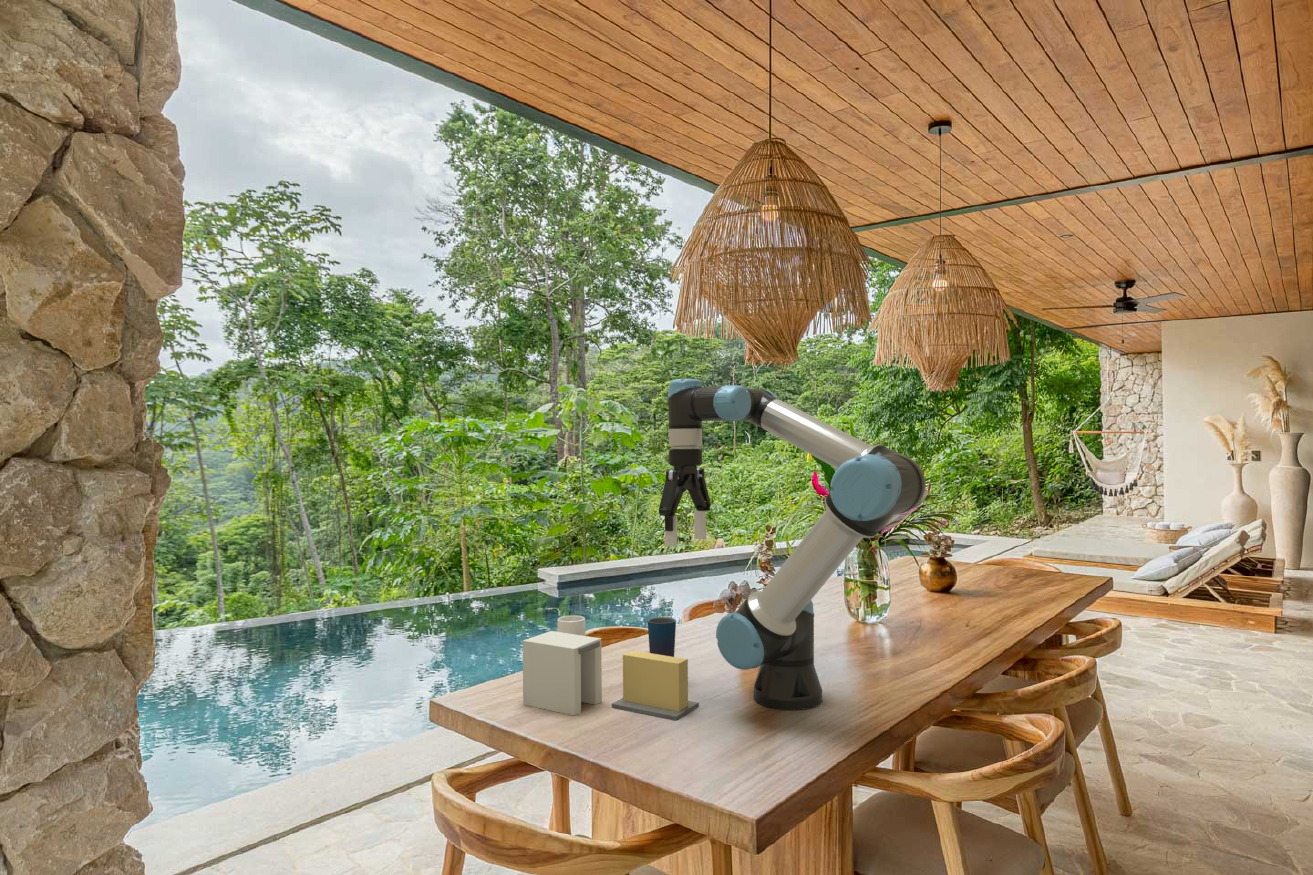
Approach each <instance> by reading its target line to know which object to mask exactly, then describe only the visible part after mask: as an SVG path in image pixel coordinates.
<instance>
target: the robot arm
mask: <svg viewBox="0 0 1313 875" xmlns="http://www.w3.org/2000/svg"><path fill="white" fill-rule="evenodd" d="M667 404H668V406H667V407H668V434H667V436H668V446H669V447H671V448H670V449H669V450H668V465H669V466H671V467H673V470H672V469H670V470H669V469H666V471H665V481H664V486H663V490H662V495H661V498H660V501H659V507H658V514H659V515H660V516H661V517H664V546H665V547H678V516H677V515H676V514H677V510H678V508H679V505H680V502H681V500H682V497H683V494H684V493H685V492H686V491H688V494H689V496H690V498H691V501H692V503H693V505H694V507H695V509H696V510H693V539H694V540H707V511H708V512H710V510H711V506H712V505H711V499H710V493H709V492H708V491H709V490H708V487H707V483H706V477H705V468H698V467H697V466H701V465H703V450H702V448H701V447H702V446H703V429H702V428H703V422H707V421H708V422H711V421H712V422H715V421H717V422H723V421H724V422H749V423H750V424H753V425H755V426H757V427H759V428H761V429H763V430H765V431H767V432H768V433H770V434H772V435H774V436H776V437H778V438H780V439H781V440H783V441H785V442H787V443H789V444H791V445H792V446H794V447H795V448H798V449H800V450H801V451H804V452H806V453H807V454H809V455H811V456H813V457H815V458H817V459H818V460H820V461H821V462H824V463H826V464H827V465H829V466H832V467H833V468H835V469H836V470H835V472H834V474H833V475H832V478H831V481H830V491H829V492H828V494H827V495H826V496H825V497H824V504H825V505H824V506H825V510H824V512H823V513H822V515H821V516H820V517H819V518H818V520H817V521H816V522H815V523H814V525H813V526H812V527H811V528H810V530H809V531H808V532H807V534H806V535H805V536H804V537H803V538H802V540H801V541H800V542H799V544H797V546H796V547H795V549H794V550H793V551H792V553H790V555H789V556H788V558H786V560H785V561H784V562H783V563H782V565H781V566H780V567H779V569H778V570H777V572H776V573H775V574H774V576H772V578H771V579H770V581H768V582H767V584H766V586H765V587H764V588H763V589H762V590H761V591H760V590H759V591H758V590H756V591H755V590H754V591H752V592H751V593H750V594H749V595H748V596H747V597H746V599H745V600H744V601H743V602H742V604H741V605H740V606H739V607H738V609H737V610H736V611H734V612H729V613H727V614H726V615H724V616H722V618H721V619H720V620H719V622H718V624H717V627H716V631H715V632H716V633H715V637H716V640H717V642H716V643H717V648H718V650H719V653H720V654H721V656H722V657H723V659H724V660H725V661H726V662H727V663H728V664H729V665H730V666H732V667H734V668H735V669H737V670H741V671H742V670H743V671H748V670H752V669H753V670H754V669H756V668H758V672H757V675H756V678H755V681H754V684H753V699H754V701H756V703H758V704H760V705H763V706H766V707H768V708H773V709H778V710H779V709H780V710H792V711H793V710H794V711H795V710H804V709H805V710H806V709H812V708H816V707H817V706H819V705H821V704H822V702H823V689H822V685H821V682H820V680H819V677H818V676H819V675H818V673H817V670H816V667H815V613H814V603H813V601H812V599H813V598H814V597H815V596H816V595H817V593H818V592H819V591H820V590H821V588H822V587H823V586H824V585H825V584H826V583H827V581H829V579H830V578H831V577H832V575H834V573H835V572H836V571H837V569H838V568H839V567H840V566H841V564H842V563H843V562H844V561H845V560H846V559H847V557H848V556H849V555H850V554H851V552H852V551H853V550H854V549H855V548H856V546H857V545H859V543H860V542H861V541H862V539H869V538H870V539H871V538H875V536H877V534H878V533H879V532H880V531H881V529H883V527H885V525H886V523H888V521H890V519H891V518H892V517H893V516H894V515H900V514H905V513H907V512H909V511H911V510H913V509H915V508H916V507H917V506H918V504H919V503H920V502H921V501H922V499H923V497H924V495H925V492H926V486H927V482H926V477H925V474H924V471H923V469H922V468H921V466H920V465H919V464H918V463H917V462H916V461H915V460H913V459H912V458H911V457H909V456H906V455H904V454H902V453H899V452H897V451H895V450H892V449H890V448H888V447H887V446H884V445H882V444H875V445H871V444H869V443H867V442H865V441H863V440H861V439H859V438H857V437H855V436H853V435H851V434H849V433H848V432H845V431H844V430H841V429H839V428H837V427H836V426H835V427H834V426H833V425H831V424H829V423H827V422H825V421H823V420H820V419H819V418H817V417H815V416H812V415H811V414H809V413H806V412H805V411H803V410H802V409H801V410H800V409H799V408H797V407H795V406H793V405H791V404H789V403H788V402H785V401H783V400H781V399H779V398H778V397H777V394H775V393H774V392H772V391H770V390H767V389H765V388H764V389H763V388H751V387H749V388H748V387H744V386H742V385H739V384H738V385H735V384H734V385H733V384H725V385H718V386H706V387H705V386H703V385H702V381H701V380H700V379H696V378H677V379H676V378H675V379H672V380H670V382H669V384H668V395H667Z"/></svg>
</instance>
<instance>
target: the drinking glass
mask: <svg viewBox="0 0 1313 875" xmlns="http://www.w3.org/2000/svg"><path fill="white" fill-rule="evenodd" d="M556 624H557V626H556V632H562V633H569V634H575V635H582V636H586V633H587V632H586V631H587V630H586V618H585V617H584V616H582V615H564V616H559V617H558V618H557V623H556Z"/></svg>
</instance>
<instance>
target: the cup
mask: <svg viewBox="0 0 1313 875" xmlns="http://www.w3.org/2000/svg"><path fill="white" fill-rule="evenodd" d="M676 626H677V619H676V618H674V617H669V616H658V617H656V616H655V617H650V618H648V619H647V631H648V632H647V633H648V647H649V648H648V650H649V653H652V654H658V655H665V656H671V657H675V649H676V646H675V645H676V630H677V627H676Z"/></svg>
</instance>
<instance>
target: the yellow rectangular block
mask: <svg viewBox="0 0 1313 875" xmlns="http://www.w3.org/2000/svg"><path fill="white" fill-rule="evenodd" d="M688 660H689V659H688V658H683V657H676V656H674V657H671V656H665V655H658V654H652V653H650V652H644V651H637V650H630V651H628V652H626V653H623V654H622V698H623V701H628V702H633V703H639V704H644V705H649V706H654V707H659V708H664V709H669V710H674V711H680V710H682V709H684V708H685V707H687V706H688V701H689V695H688V694H689V676H688V675H689V664H688Z"/></svg>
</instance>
